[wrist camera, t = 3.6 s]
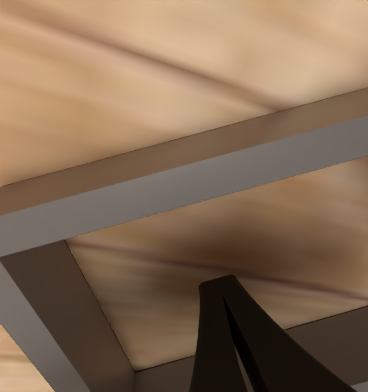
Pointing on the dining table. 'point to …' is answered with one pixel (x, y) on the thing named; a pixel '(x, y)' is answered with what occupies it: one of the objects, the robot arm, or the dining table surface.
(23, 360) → the dining table surface
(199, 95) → the dining table surface
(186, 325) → the dining table surface
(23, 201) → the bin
